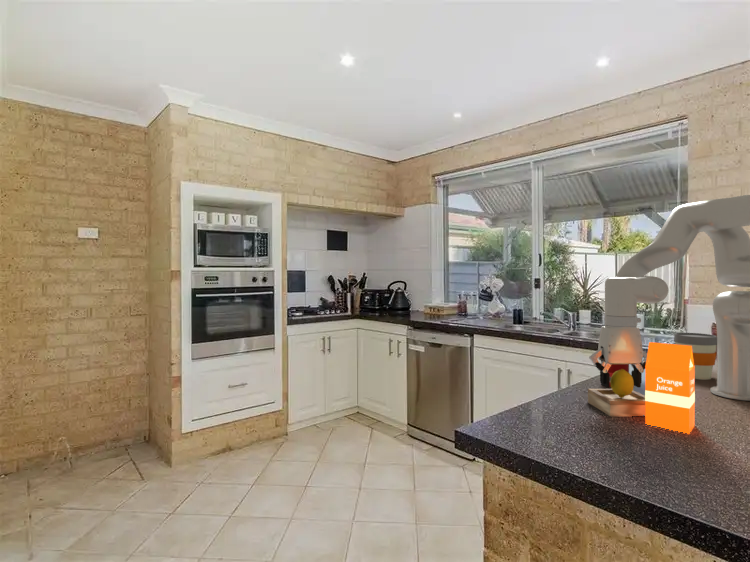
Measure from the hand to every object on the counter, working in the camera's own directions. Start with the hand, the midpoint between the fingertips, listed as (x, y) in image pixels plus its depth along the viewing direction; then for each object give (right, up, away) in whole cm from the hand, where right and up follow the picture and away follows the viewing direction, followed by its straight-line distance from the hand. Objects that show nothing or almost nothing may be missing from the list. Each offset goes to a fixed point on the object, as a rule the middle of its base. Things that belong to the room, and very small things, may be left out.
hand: (620, 385), depth 114 cm
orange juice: (+5, -7, -13) cm, 15 cm away
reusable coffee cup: (+48, -6, +36) cm, 60 cm away
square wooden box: (0, -6, 0) cm, 6 cm away
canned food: (+13, -6, +25) cm, 29 cm away
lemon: (0, -4, 0) cm, 4 cm away
